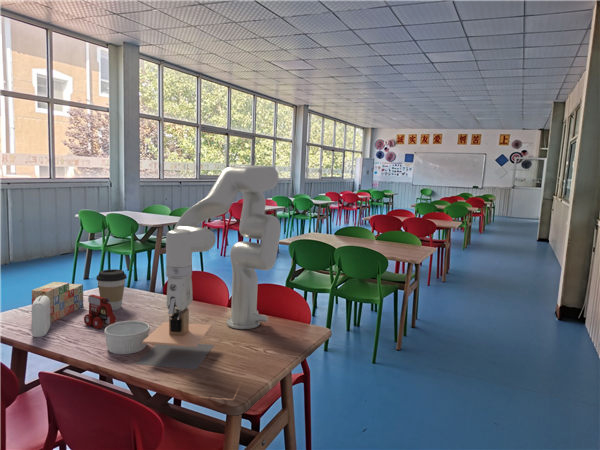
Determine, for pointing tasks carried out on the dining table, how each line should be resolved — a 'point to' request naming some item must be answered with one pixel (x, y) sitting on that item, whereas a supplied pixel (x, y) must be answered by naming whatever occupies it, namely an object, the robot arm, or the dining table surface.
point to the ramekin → (126, 336)
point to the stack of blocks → (61, 298)
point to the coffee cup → (112, 286)
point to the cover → (179, 333)
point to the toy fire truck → (99, 312)
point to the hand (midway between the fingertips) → (179, 327)
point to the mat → (176, 356)
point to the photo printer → (40, 316)
